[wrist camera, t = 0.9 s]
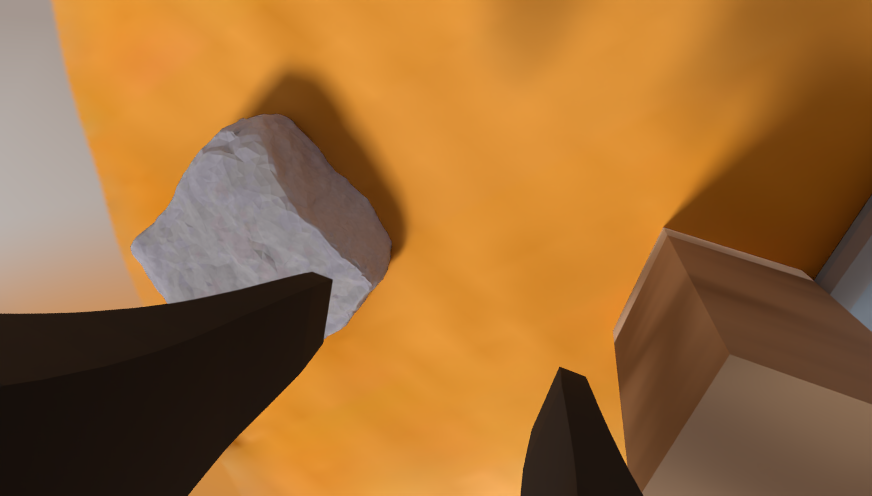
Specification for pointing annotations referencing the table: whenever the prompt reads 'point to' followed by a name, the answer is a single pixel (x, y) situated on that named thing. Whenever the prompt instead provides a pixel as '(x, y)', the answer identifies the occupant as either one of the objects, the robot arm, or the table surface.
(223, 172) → the stone block
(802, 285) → the walnut block
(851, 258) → the tipping mat
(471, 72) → the table surface
